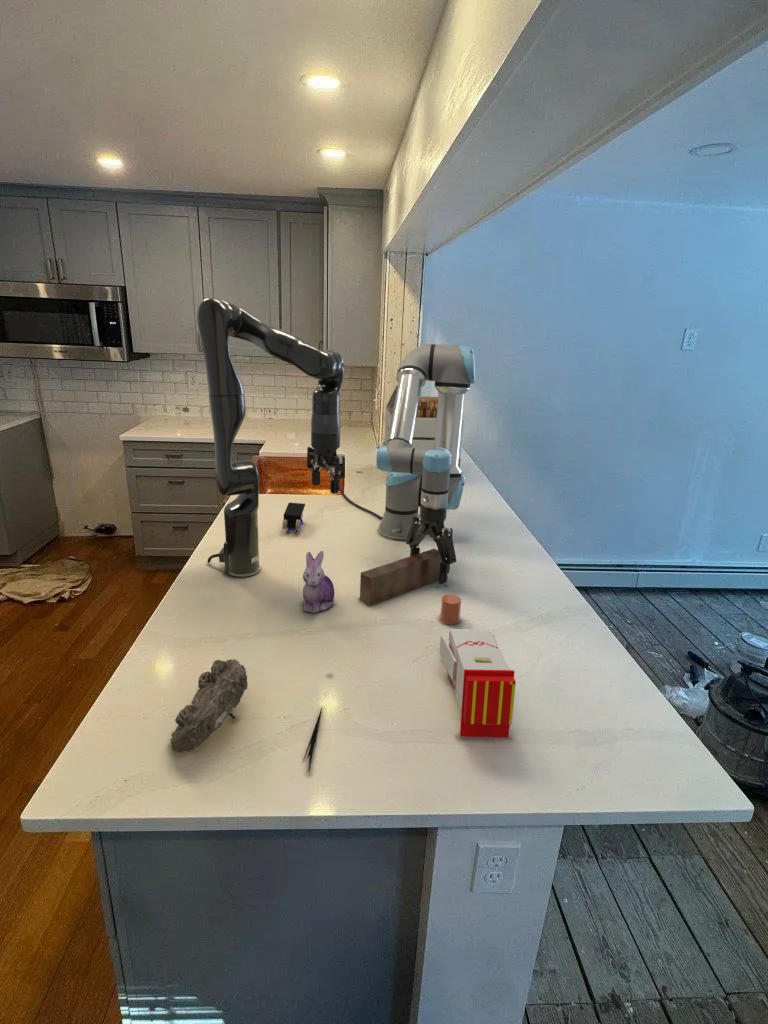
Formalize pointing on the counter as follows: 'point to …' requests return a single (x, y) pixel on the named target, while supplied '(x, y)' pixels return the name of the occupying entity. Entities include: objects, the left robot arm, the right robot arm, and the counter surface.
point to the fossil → (210, 704)
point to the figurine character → (293, 517)
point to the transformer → (420, 423)
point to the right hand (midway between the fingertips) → (428, 575)
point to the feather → (313, 740)
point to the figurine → (316, 585)
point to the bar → (399, 576)
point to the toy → (479, 682)
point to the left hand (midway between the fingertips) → (325, 488)
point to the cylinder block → (450, 609)
